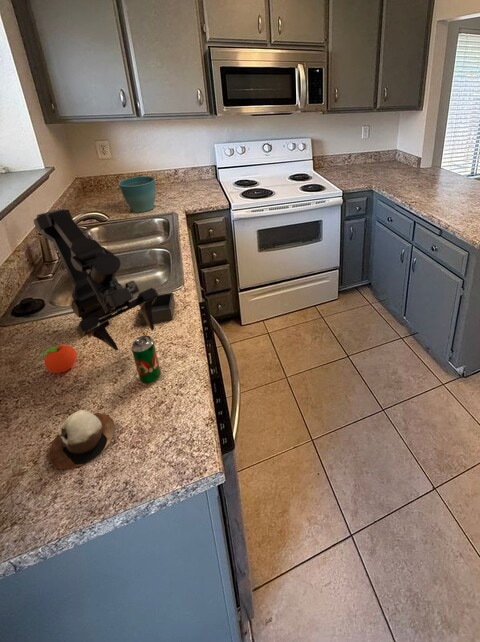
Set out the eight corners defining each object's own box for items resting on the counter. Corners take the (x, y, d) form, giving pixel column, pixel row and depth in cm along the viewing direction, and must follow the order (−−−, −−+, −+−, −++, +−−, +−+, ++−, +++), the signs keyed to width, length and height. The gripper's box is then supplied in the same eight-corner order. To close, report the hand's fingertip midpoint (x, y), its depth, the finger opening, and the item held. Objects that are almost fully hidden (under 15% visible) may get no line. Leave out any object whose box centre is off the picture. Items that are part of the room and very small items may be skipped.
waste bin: (141, 325, 112) (138, 314, 111) (146, 307, 120) (143, 297, 119) (172, 319, 115) (170, 308, 113) (175, 303, 123) (173, 292, 121)
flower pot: (129, 218, 192) (122, 188, 186) (121, 208, 205) (115, 180, 199) (164, 209, 203) (158, 181, 197) (154, 201, 216) (149, 174, 210)
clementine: (39, 382, 92) (30, 361, 89) (50, 362, 98) (42, 342, 96) (74, 375, 94) (67, 354, 91) (83, 356, 100) (76, 336, 98)
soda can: (155, 366, 97) (147, 331, 92) (164, 376, 94) (156, 340, 89) (136, 378, 93) (126, 342, 89) (145, 388, 90) (136, 351, 86)
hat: (31, 450, 75) (57, 399, 77) (79, 442, 83) (101, 397, 86) (58, 481, 69) (85, 424, 71) (107, 470, 77) (130, 419, 80)
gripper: (68, 294, 82) (100, 353, 79) (148, 261, 95) (177, 311, 93) (65, 309, 89) (94, 364, 87) (139, 277, 103) (166, 323, 100)
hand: (135, 339), depth 92 cm, fingers open, 9 cm apart
